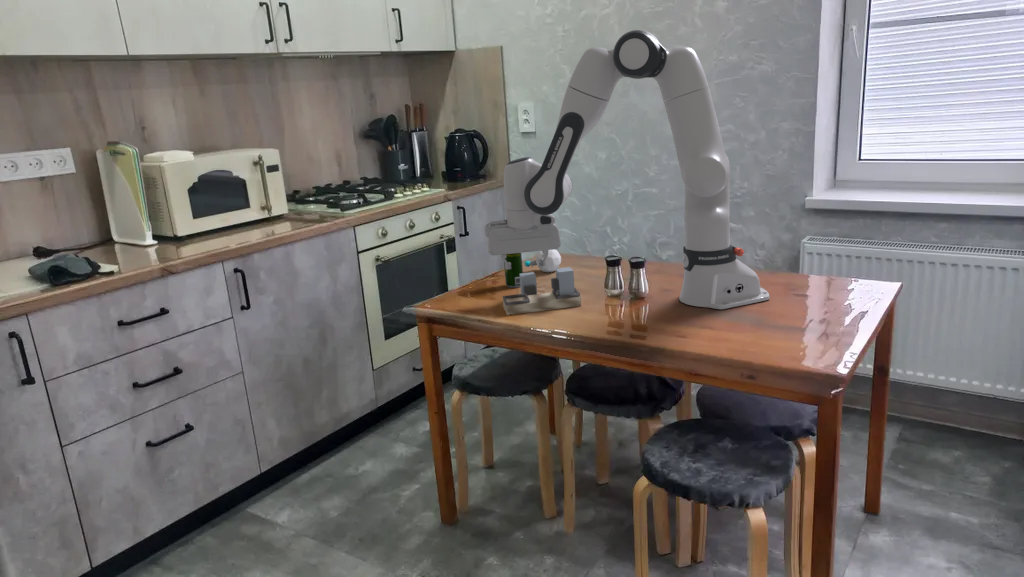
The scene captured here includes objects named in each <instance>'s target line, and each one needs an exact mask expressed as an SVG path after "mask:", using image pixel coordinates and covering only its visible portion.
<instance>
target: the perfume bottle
mask: <svg viewBox="0 0 1024 577" xmlns="http://www.w3.org/2000/svg"><path fill="white" fill-rule="evenodd" d="M559 252H560V251H558V249H554V250H548V256H547V258H546V260H545V266H539V259H541V258H542V256H543V253H542V251H538V253H537V255H536V256H535V260H533V259H530V260H526V261H525V262H524V266H525V267H526V268H529V267H533V266H534V267H535V266H537V267H538V268H539V270H540V271H541V272H545V273H549V272H551V273H552V272H556V269H557V268H559V267H560V266H561V263H562V256H561V254H560V253H559Z"/></svg>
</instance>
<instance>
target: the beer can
mask: <svg viewBox="0 0 1024 577" xmlns="http://www.w3.org/2000/svg"><path fill="white" fill-rule="evenodd" d="M506 257H507V258H505V259H506V261H507V262H510V263H511V269H510V270H506V268H505V263H504V262H503V265H504V266H503V267H504V268H503V270H504V277H505V285H506V287H507V288H509V289H517V288H521V287H520V275H519V274H522V273H524V270H523V259H522V257H523V256H522V253H513V254H506Z"/></svg>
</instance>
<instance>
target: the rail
mask: <svg viewBox="0 0 1024 577" xmlns="http://www.w3.org/2000/svg"><path fill="white" fill-rule="evenodd" d="M574 289H575V294H569V295H561V296H559V295H558V294H557V290H555V291H554V290H553V289H552V290H551V292H545V293H537V294H536V295H528V296H527V294H525V293H524V294H521V293H516V294H509V295H503V296H502V302H503V303H502V304H503V305H502V306H503V309H504V311H506V312H505V313H506V316H510V314H512V315H518V314H519V315H521V314H527V313H536V312H543V311H550V310H557V309H565V308H574V307H582V299H581V298H582V297H581V292H580V291H578V289H577V288H576V287H574Z"/></svg>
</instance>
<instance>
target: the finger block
mask: <svg viewBox="0 0 1024 577" xmlns="http://www.w3.org/2000/svg"><path fill="white" fill-rule="evenodd" d="M519 275H520V287H519V288H520V294H524V293H525V294H527V296H528V295H536V294H538V287H537V275H536V274H535V272H534V271H531V272H523V273H522V274H519Z"/></svg>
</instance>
